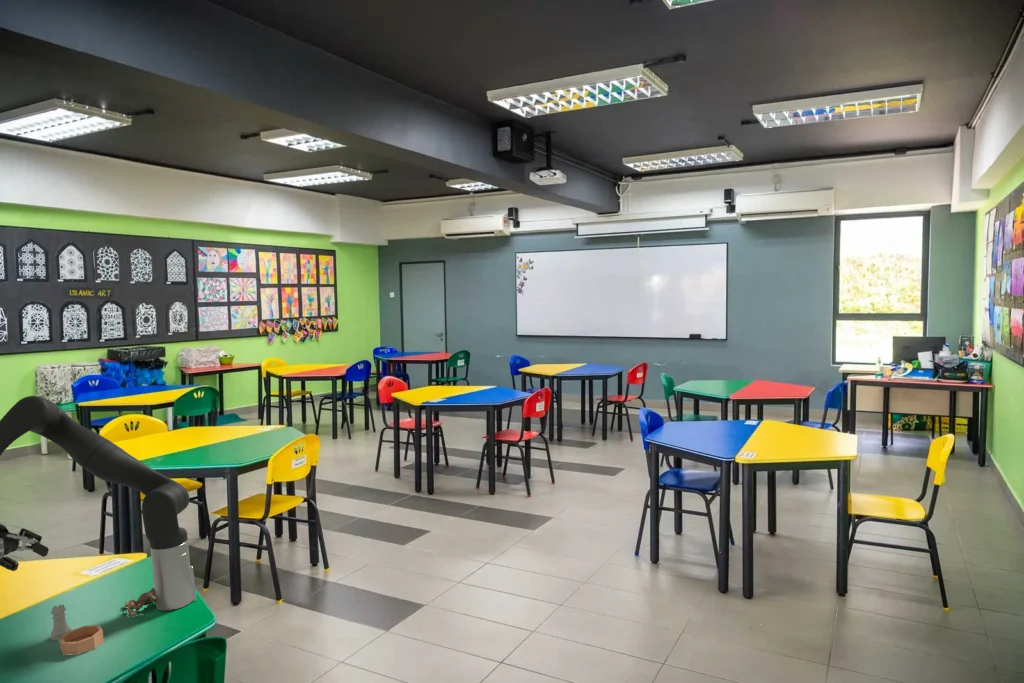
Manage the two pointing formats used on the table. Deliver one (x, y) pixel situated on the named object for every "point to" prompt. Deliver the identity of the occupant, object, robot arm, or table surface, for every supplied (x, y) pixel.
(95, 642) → the dish
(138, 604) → the frog figurine
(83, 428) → the robot arm
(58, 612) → the rook chess piece
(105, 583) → the table surface
